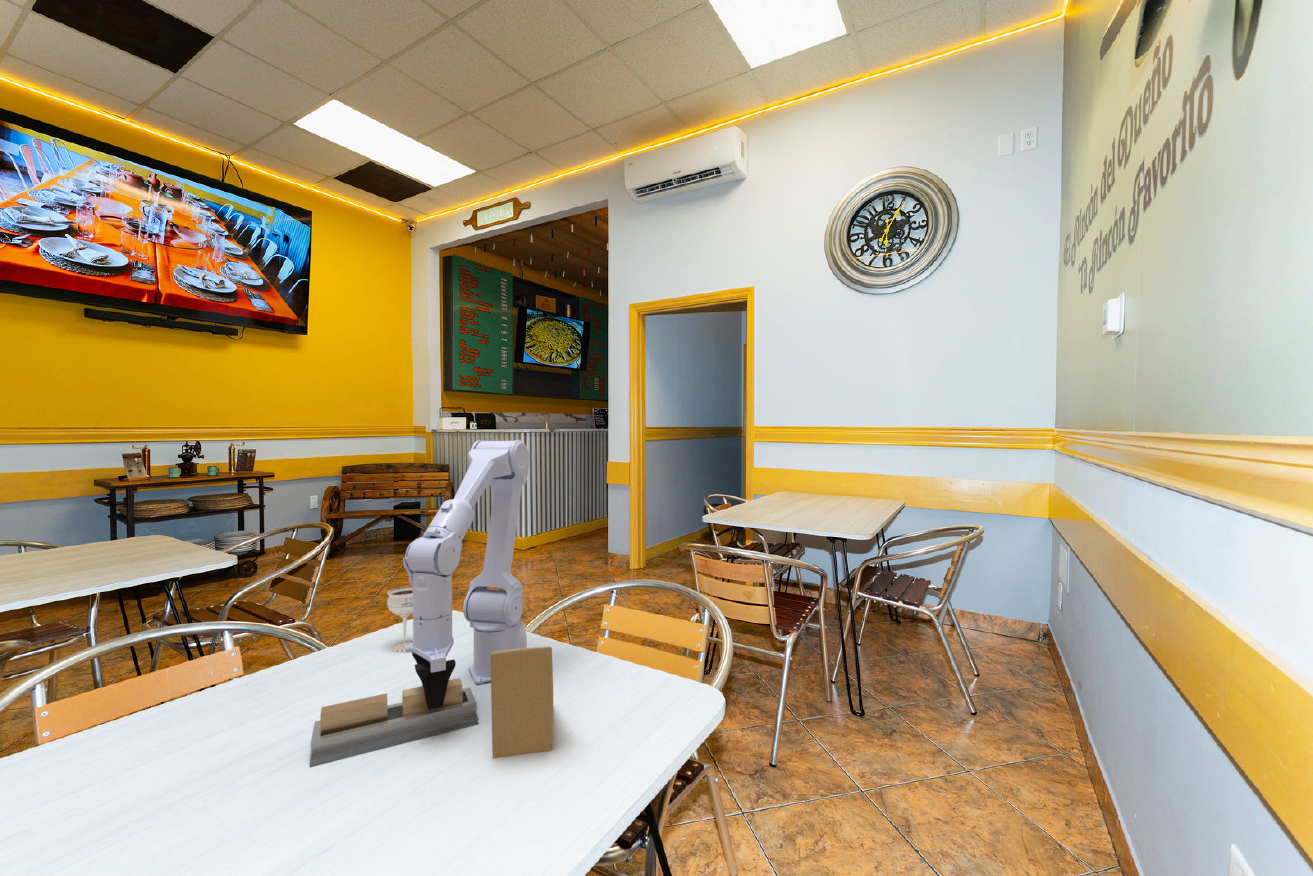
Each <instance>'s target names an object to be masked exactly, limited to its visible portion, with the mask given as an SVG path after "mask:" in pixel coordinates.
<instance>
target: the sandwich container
mask: <svg viewBox="0 0 1313 876" xmlns="http://www.w3.org/2000/svg"><path fill="white" fill-rule="evenodd" d="M490 664H491V681H490V695H491V696H490V698H491V701H490V703H491V704H490V705H491V742H492V743H491V746H492V748H491V750H492V759H499V758H507V757H513V756H515V757H517V756H522V755H529V754H538V753H546V752H552V750H553V732H554V731H553V729H554V727H553V726H554V673H553V672H554V670H553V666H554V665H553V647H552V646H548V645H547V646H535V647H534V646H533V647H527V648H519V649H511V650H504V651H496V652H491V655H490Z"/></svg>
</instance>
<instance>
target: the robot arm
mask: <svg viewBox="0 0 1313 876" xmlns="http://www.w3.org/2000/svg"><path fill="white" fill-rule="evenodd" d="M472 444H473V445H472V446H471V449H470V450H469V451H468V455H467V457H468V460H467V461H468V468H467V471H465V472H466V473H465V475H464V477H463V478H462V481H461V483H460V485H459V487H458V489H457V491H456V493H455V494H454V498H453V499H448V500H445V501H444V502H443V503H442V504H441V506H440V507H439V509H438V511H437V512H436V513H435V516H434V517H433V519H432V521H431V522H430V524H429V525H428V527H427V528H426V530H425V532H424V533H423V534H422V536H420V537H417V538H415V540H413V541H412V542H410V543H409V544H408V546H407V547H406V551H405V555H404V557H403V559H402V561H403V563H402V564H403V567H404V569H405V571H406V572H407V574H408V583H409V585H410V586H413V613H412V642H413V643H410V644H406V645H405V651H404V653H406V654H409V653H411V656H412V657H413V659H414V660H415V662H416V663H415V665H414V669H415V672H416V674H417V676H418V677H419V680H420V682H421V686H423V688H424V693H425V699H426V704H427V707H428V710H431V709H435V708H440V707H443V703H444V700H445V695H446V689H447V685H448V681H449V680H450V678H451V675H452V673H454V671H455V667H456V666H457V665H456V664H457V663H456V660H455V659H449V660H447V657H448V655H449V653H450V651H451V649H452V648H453V646H454V643H455V642H454V641H455V640H454V637H453V573H454V572H455V571H456V569H457V568H458V566H459V564H460V560H461V551H462V548H463V545H464V543H462V541H463V539H464V538H465V536H466V534H467V533H468V530H469V529H470V527H471V525H472V523H473V522H474V520H475V517H476V516H475V515H476V514H475V510H474V509H473V508H474V506H475V505H476V503H477V502H478V500H479V499H480V497H481V495H482V494H484V491H486V488H487V487H488V486H491V488H492V489H493V498H492V506H491V511H490V519H489V525H488V526H489V527H488V531H487V532H488V533H487V540H486V548H485V554H484V555H485V556H484V562H483V569H482V572H481V573H480V574H479V575H477V576H475V577H474V578H473V579H471V581H470V583H469V587H468V591H467V594H466V596H465V597H464V601H463V604H462V612H463V617H464V619H465V620H466V621H467V622H469V628H473V664H471V665H468V670H469V672H470V675H471V677H472V679H473V681H474V682H475V684H477V685H480V684H484V683H487V682H491V664H490V655H491V652H496V651H504V650H511V649H519V648H528V647H527V645H528V644H527V643H528V642H527V641H528V640H527V629H526V626H525V623H524V621H522V620H520V618H521V617H522V614H523V611H524V610H523V609H524V599H523V584H522V582H521V581H519V579H517V578H516V577H515V576H514V575H513V574H512V563H513V558H514V556H513V555H514V548H515V541H516V534H517V533H516V532H517V526H518V525H517V523H518V518H519V510H520V503H521V493H522V487H523V486H525V485H526V484H527V483H528V480H527V479H528V474H529V467H530V459H531V455H530V453H529V450H528V446H527V445H526V444H525V442H524V441H523V440H521V439H515V440H483V439H478V440H476V441H475V442H474V443H472ZM488 588H500V590H499V589H488ZM501 589H503V590H501Z"/></svg>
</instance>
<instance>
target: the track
mask: <svg viewBox="0 0 1313 876" xmlns="http://www.w3.org/2000/svg"><path fill="white" fill-rule="evenodd" d="M477 707H478V706H477V700H476V698H475V696H474V694H473V691H472V689H471V687H466V688H462V703H461V704H457V705H453V706H448V707H444V708H440V709H435V710H431V711H427V712H422V713H418V714H414V715H410V716H405V717H403V713H402V702H397V703H393V704H389V705H388V693H382V694H378V695H372V696H368V697H364V698H360V699H359V698H358V699H354V700H349V701H345V702H338V703H336V704H330V705H326V706H322V707H321V709H320V720H316V721H314V724H313V728H312V735H311V741H310V754H311V755H310V761H309V767H313V766H319V765H322V764H325V763H330V762H334V761H337V760H338V761H339V760H341V759H345V758H349V757H354V756H357V755H361V754H364V753H365V754H366V753H368V752H373V751H377V750H380V749H385V748H388V747H392V746H396V745H400V744H406V743H408V742H412V741H417V740H421V739H424V738H429V737H432V736H436V735H439V734H443V733H448V732H451V731H455V730H460V729H463V728H467V727H470V726H475V725H479V717H478V714H477V713H478V712H477Z"/></svg>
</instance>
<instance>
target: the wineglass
mask: <svg viewBox="0 0 1313 876" xmlns="http://www.w3.org/2000/svg"><path fill="white" fill-rule="evenodd" d="M386 594H387V595H388V598H386V599H387V600H386V605H387V608H388V610H389V611H390V612H391V613H393V614H394V615H397V616H400V618H402V628H403V629H402V632H403V643H402V642H401V643H399V644H396V645H394V646H395V647H394V646H392V649H391V650H392V651H393V650H401V651H400V652H403V651H402V650H405V645H406V644H410V643H413V641H412V642H411V641H408V642H407V641H406V640H407V622H408V621H407V620H408V617H410V615H411V614H413V586H412V585H410V586H407V585H406V586H401V587H395V588H392V589H389V590H388V591H387V592H386Z"/></svg>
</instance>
